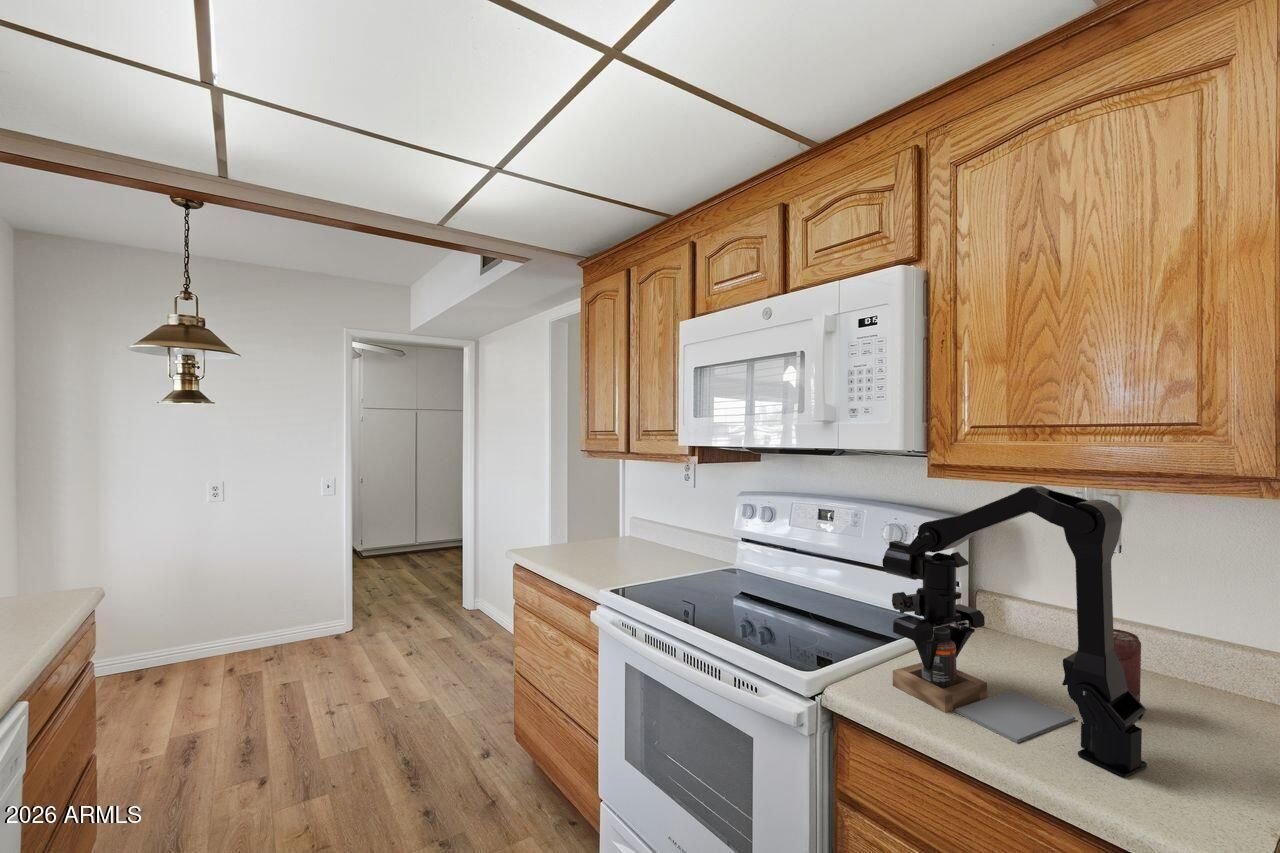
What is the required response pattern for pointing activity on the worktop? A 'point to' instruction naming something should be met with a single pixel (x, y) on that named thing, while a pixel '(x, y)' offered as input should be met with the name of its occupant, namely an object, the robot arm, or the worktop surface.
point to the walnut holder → (942, 699)
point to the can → (1129, 658)
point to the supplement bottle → (942, 661)
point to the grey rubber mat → (1015, 715)
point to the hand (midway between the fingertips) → (938, 666)
